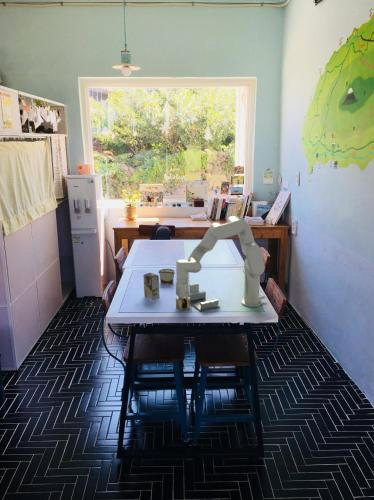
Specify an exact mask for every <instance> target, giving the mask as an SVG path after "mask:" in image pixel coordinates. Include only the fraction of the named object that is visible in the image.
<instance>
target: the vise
mask: <svg viewBox="0 0 374 500" xmlns="http://www.w3.org/2000/svg"><path fill="white" fill-rule="evenodd" d="M219 301H220V300H219V299H210V298H209V297H207V296H206V298H201V299H197V300H192V301H190V306H192V307H194V308H195V309H196V310H198V311H199V312H200V313H201V312H205V311H210V310H213V309H217V308H219V309H220V308H221V306H220V304H219Z"/></svg>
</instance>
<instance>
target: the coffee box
mask: <svg viewBox="0 0 374 500" xmlns="http://www.w3.org/2000/svg"><path fill="white" fill-rule="evenodd" d="M142 276H143V277H142V278H143V291H144V298H146V299H149V300H150V301H151V300H152V301H155V300H157V299H160V282H159V279H160V276H159V274H155V273H152V272H149V273H145V274H143V275H142Z"/></svg>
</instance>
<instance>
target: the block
mask: <svg viewBox="0 0 374 500" xmlns="http://www.w3.org/2000/svg"><path fill="white" fill-rule="evenodd" d="M184 300H186V299H184ZM182 303H183V299H181V298H179V297H177V298H175V309H176V310H177V311H179V312H180V311H184V310H185V311H186V310H188V309H191V304H190V298H189V301H188V302H187V308H185V309H183V308H182Z"/></svg>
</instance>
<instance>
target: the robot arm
mask: <svg viewBox="0 0 374 500" xmlns="http://www.w3.org/2000/svg"><path fill="white" fill-rule="evenodd" d="M252 231H253V230H252V229H251V226H250V224H249V223H248V222H247V221H246V220H245V219H243V218H242V217H240V216H237V215H230V216H229V217H228V218H227V219H226V222H225V223H224V224H223V223H222V224H221V223H219V222H213V223H212V224H211V225H210V226H209V228H207V231H206V233H205V234H204V236H203V238H202V239H201V241H200V242H199V243H198V244H197V246H195V248H194V249H193V250H192V252H191V253H190V255H189V257H188V259H179V260H177V261H176V263H175V264H176V265H175V268H176V270H175V271H176V272H175V274H176V275H175V276H176V283H175V294H176V296H177V298H181V299H183V303H182V308H183V309H185V308H187V302H188V301H189V293H190V288H189V281H190V280H189V279H190V278H189V277H190V275H189V273H192V274H197V273H199V272H201V270H202V263H201V260H202V258H203V257H204V256H205V254H206V253H208V252H211V251H212V250H213V249H214V247H215V246H216V244H217V242H218V241H219V240H223V239H227V238H231V237H234V236H238V238H239V242H240V247H241V252H242V253H243V255H244V256H245V257H246V258H245V260H244V262H243V268H244V291H243V293H244V296H243V299H242V300H241V304H242V305H243V306H245V307H249V308H257V307H259V306H261V305H262V300H265V299H266V296H265V295H260V287H261V286H260V282H261V281H260V280H261V275H263V273H264V272H265V267H266V266H265V262H264V258H263V252H262V250H261V248H260V246H259V245H258V244H257V243H256V240H255V238H254V235H253V232H252ZM184 299H186V300H184ZM185 310H186V309H185Z"/></svg>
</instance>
